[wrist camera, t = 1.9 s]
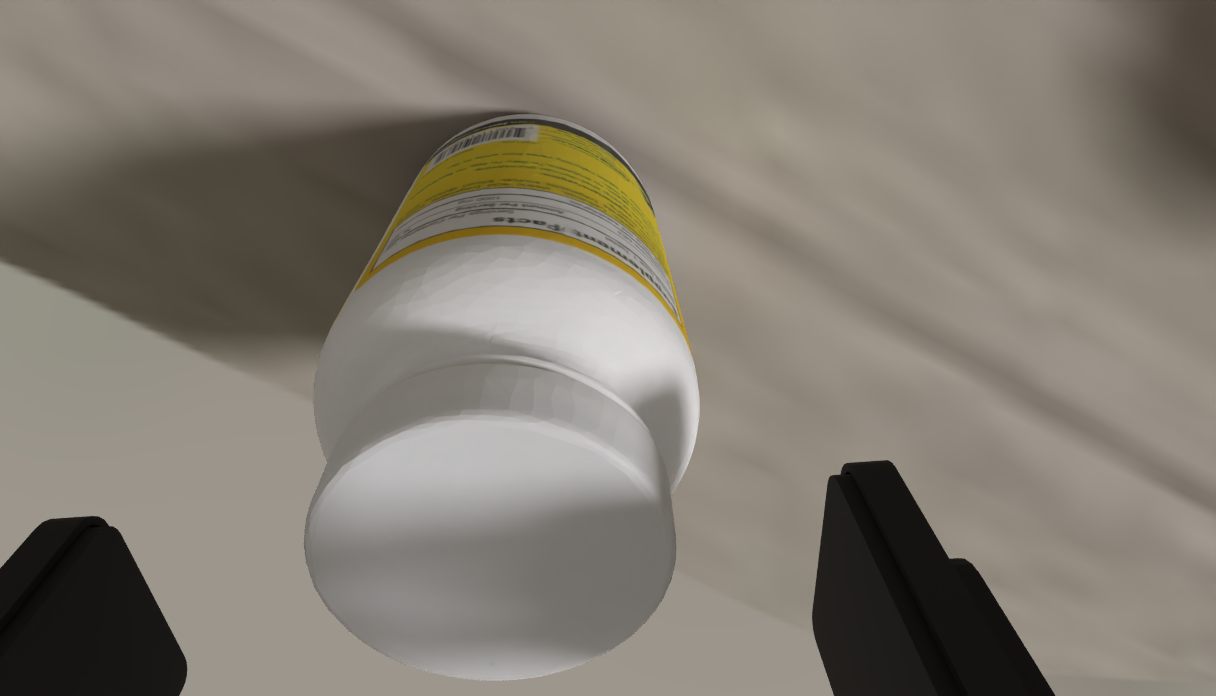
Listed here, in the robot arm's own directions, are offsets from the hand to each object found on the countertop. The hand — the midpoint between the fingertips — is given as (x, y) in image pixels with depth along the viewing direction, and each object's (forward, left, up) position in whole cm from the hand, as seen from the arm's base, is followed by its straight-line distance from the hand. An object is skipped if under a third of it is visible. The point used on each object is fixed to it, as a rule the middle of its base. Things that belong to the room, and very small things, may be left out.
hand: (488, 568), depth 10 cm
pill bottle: (-1, 0, -11) cm, 11 cm away
